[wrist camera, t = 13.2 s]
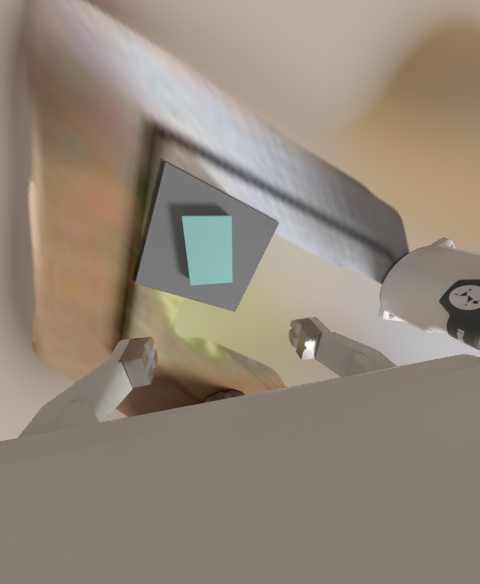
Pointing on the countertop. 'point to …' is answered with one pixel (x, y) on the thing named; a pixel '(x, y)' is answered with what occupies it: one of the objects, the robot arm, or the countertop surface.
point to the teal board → (208, 248)
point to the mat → (172, 250)
